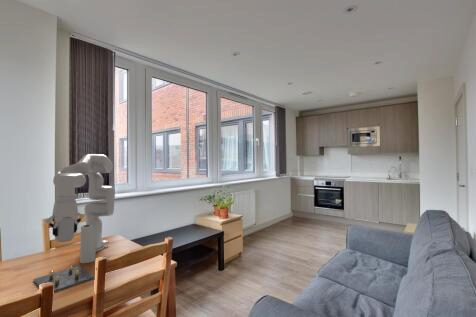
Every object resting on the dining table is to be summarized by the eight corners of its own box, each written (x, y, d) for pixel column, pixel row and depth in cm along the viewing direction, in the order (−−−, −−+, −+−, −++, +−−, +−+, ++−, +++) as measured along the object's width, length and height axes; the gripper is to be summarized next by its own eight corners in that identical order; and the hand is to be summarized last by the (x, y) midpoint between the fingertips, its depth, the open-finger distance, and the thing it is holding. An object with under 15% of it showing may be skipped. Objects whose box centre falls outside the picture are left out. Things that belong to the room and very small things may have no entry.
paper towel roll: (77, 262, 145) (78, 226, 145) (87, 258, 151) (88, 223, 151) (85, 264, 142) (86, 227, 142) (95, 261, 148) (96, 225, 148)
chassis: (78, 267, 139) (78, 259, 139) (93, 278, 126) (94, 270, 126) (33, 281, 123) (33, 272, 123) (46, 295, 111) (46, 285, 111)
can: (77, 239, 127) (77, 215, 127) (62, 243, 120) (63, 218, 120) (66, 237, 129) (67, 214, 129) (52, 241, 122) (52, 217, 122)
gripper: (82, 196, 134) (81, 228, 134) (42, 200, 120) (41, 236, 120) (87, 197, 129) (87, 231, 129) (47, 202, 115) (46, 239, 115)
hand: (65, 233), depth 125 cm, fingers closed on can, 7 cm apart
